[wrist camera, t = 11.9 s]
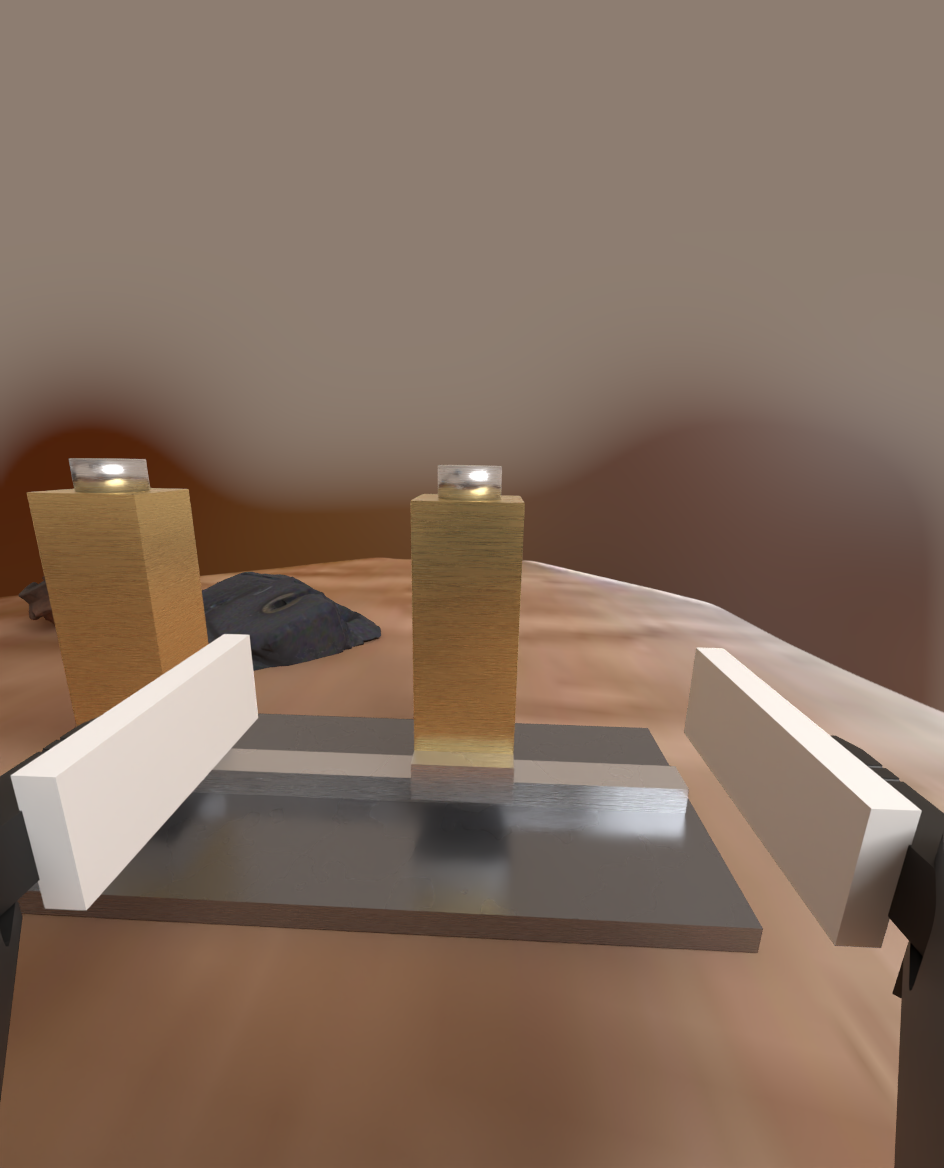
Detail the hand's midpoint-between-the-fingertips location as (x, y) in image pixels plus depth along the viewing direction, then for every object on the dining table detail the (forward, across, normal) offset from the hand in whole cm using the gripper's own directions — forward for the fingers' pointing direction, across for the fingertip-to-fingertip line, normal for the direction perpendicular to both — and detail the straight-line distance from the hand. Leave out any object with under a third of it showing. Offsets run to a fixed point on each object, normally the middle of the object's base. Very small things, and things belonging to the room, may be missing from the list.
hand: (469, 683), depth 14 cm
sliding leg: (+7, 0, -8) cm, 10 cm away
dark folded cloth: (+30, -20, -10) cm, 37 cm away
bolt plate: (+6, -3, -9) cm, 11 cm away
